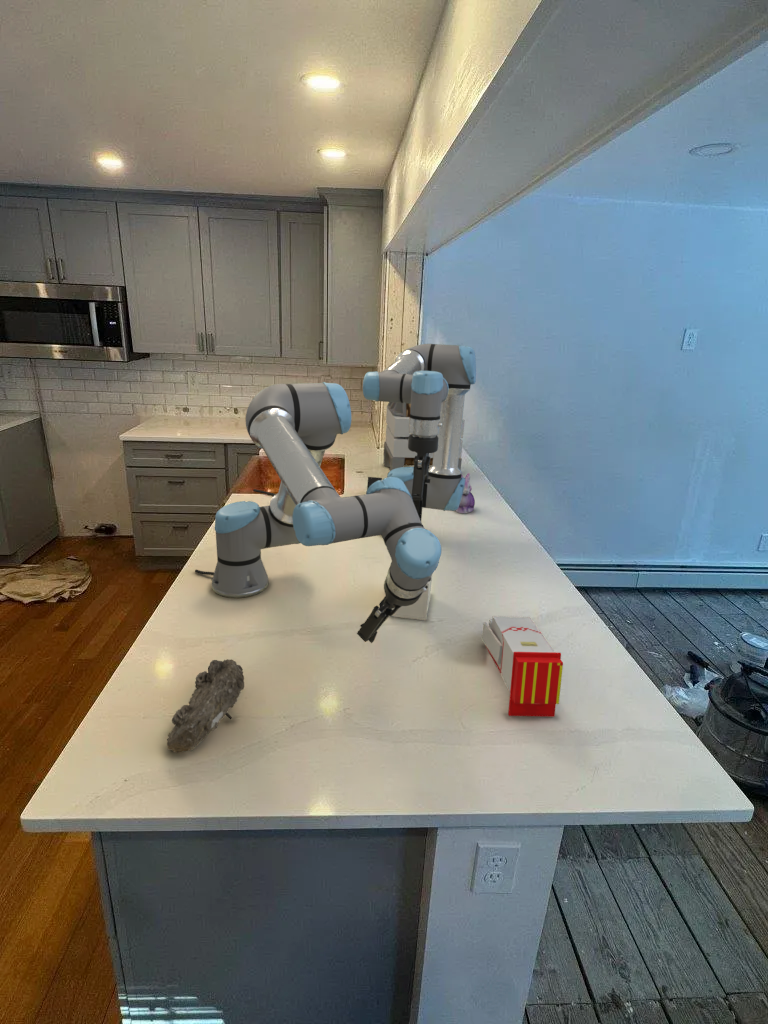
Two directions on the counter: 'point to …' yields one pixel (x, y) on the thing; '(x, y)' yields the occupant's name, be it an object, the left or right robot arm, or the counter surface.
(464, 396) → the right robot arm
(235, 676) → the fossil
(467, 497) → the figurine
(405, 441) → the transformer
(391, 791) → the counter surface
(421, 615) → the white cabinet body
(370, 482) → the figurine character
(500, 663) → the toy
